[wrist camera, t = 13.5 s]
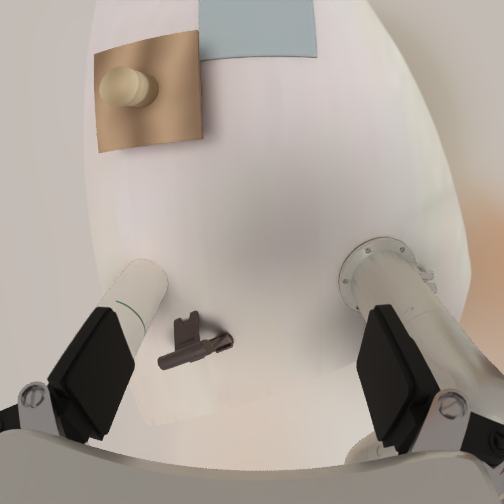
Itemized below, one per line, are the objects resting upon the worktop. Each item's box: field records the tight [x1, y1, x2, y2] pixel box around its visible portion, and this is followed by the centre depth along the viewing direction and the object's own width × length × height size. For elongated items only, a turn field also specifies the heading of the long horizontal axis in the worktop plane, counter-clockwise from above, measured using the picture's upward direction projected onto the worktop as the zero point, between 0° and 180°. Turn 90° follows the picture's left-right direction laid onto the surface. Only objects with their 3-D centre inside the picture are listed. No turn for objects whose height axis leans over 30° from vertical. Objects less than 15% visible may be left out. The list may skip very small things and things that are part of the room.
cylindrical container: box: [44, 259, 168, 386], centre depth 31 cm, size 7×7×25 cm
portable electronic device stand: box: [158, 311, 234, 370], centre depth 42 cm, size 9×8×8 cm
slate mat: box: [199, 0, 317, 61], centre depth 26 cm, size 14×14×1 cm
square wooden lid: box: [94, 30, 203, 153], centre depth 23 cm, size 12×12×7 cm
